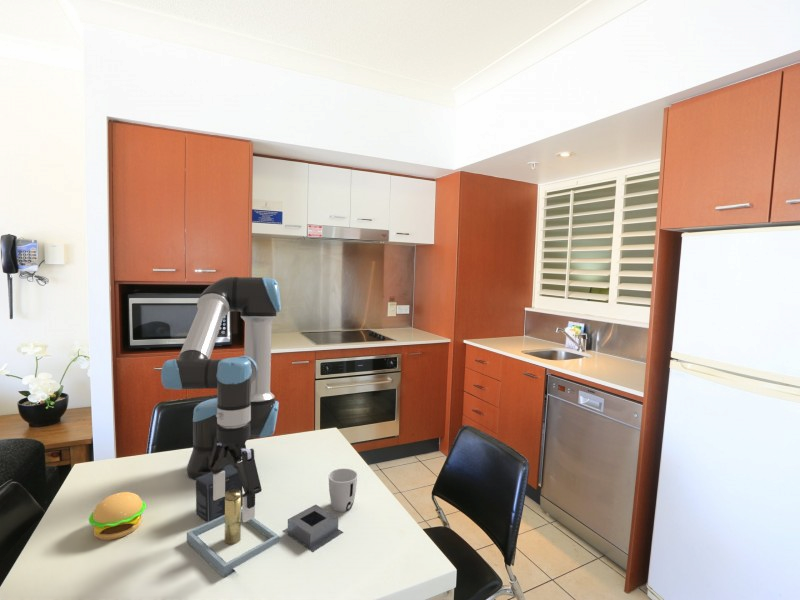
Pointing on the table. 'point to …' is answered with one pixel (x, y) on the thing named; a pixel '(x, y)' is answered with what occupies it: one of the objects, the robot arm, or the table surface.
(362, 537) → the table surface
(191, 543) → the tray
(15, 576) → the table surface
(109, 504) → the hamburger
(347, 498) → the cup
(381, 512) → the table surface
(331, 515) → the block
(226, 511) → the pin
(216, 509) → the box
